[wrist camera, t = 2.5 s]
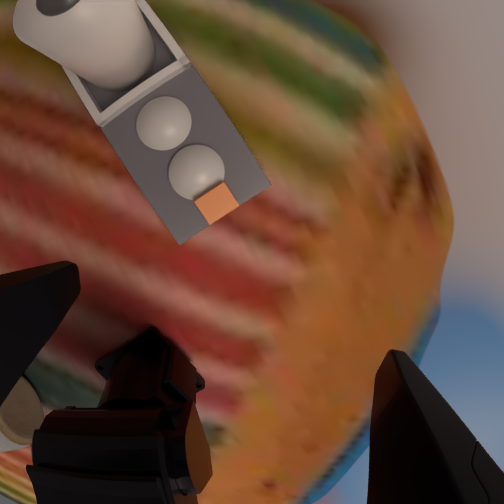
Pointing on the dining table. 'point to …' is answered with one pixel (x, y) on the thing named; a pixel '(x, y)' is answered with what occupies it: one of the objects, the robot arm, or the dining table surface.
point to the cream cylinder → (90, 38)
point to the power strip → (175, 139)
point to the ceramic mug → (19, 417)
